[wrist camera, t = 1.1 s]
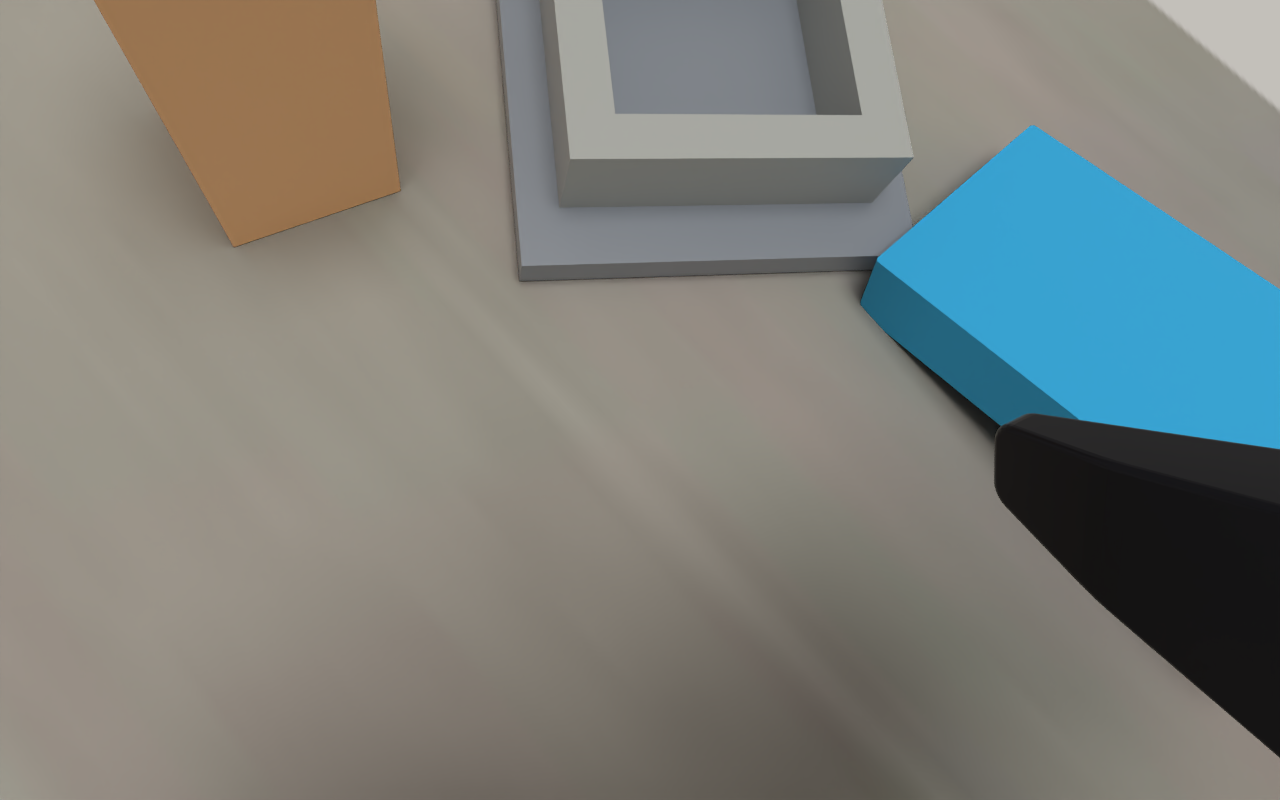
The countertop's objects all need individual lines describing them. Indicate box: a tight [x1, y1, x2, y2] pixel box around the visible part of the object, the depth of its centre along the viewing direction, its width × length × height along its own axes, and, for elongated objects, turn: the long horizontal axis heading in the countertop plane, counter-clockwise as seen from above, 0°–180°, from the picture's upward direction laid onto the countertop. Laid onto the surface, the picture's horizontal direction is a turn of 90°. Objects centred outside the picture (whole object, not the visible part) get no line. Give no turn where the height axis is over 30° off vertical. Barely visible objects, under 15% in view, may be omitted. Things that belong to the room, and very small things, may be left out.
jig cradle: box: [496, 0, 914, 281], centre depth 25 cm, size 12×11×4 cm
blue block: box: [861, 125, 1280, 449], centre depth 25 cm, size 7×7×18 cm
